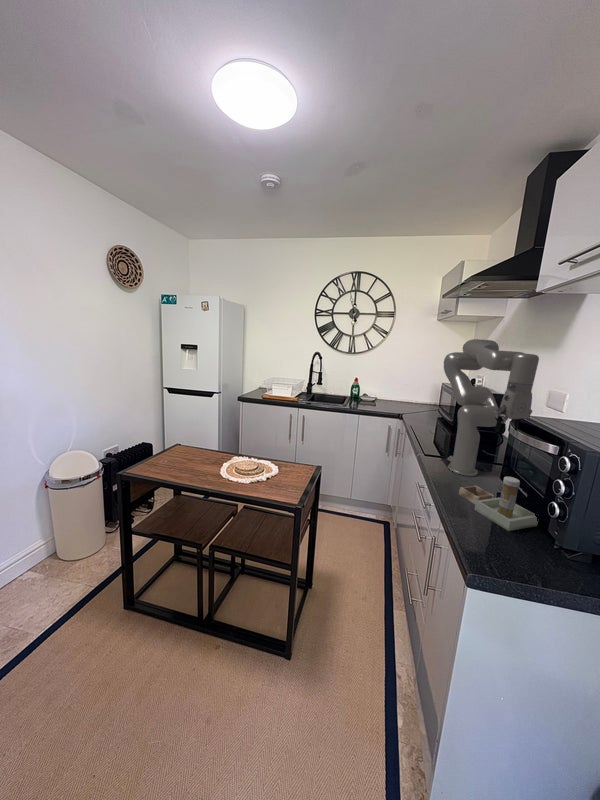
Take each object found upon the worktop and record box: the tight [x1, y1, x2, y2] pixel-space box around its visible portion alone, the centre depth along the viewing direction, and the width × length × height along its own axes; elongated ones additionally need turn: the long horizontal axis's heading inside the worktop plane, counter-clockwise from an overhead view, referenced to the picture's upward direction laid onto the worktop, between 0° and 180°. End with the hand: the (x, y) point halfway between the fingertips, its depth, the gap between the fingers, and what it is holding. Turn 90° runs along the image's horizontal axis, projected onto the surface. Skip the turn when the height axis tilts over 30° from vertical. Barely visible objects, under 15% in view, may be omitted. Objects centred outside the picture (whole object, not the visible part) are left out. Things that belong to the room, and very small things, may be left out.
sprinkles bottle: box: [497, 476, 521, 518], centre depth 106 cm, size 5×5×13 cm
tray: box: [474, 497, 539, 532], centre depth 107 cm, size 13×13×4 cm
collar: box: [458, 485, 495, 505], centre depth 119 cm, size 8×8×3 cm
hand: (509, 432), depth 117 cm, fingers open, 9 cm apart
